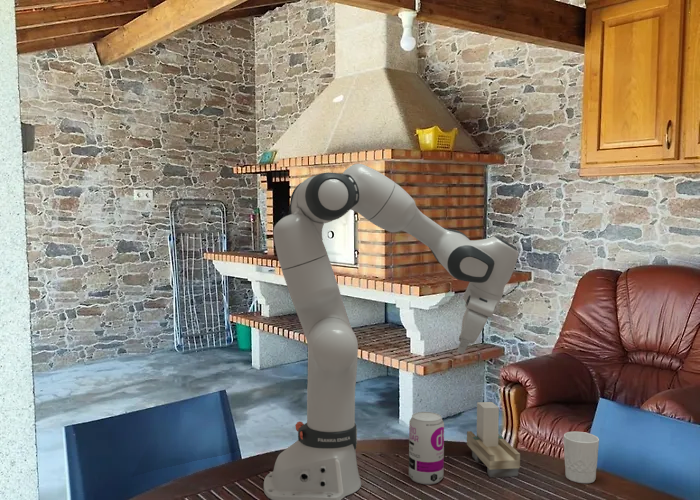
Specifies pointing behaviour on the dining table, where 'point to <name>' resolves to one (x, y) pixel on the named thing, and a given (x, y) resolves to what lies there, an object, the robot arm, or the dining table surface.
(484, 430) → the rider
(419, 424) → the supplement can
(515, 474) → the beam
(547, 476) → the dining table surface
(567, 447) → the white cup
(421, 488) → the dining table surface
